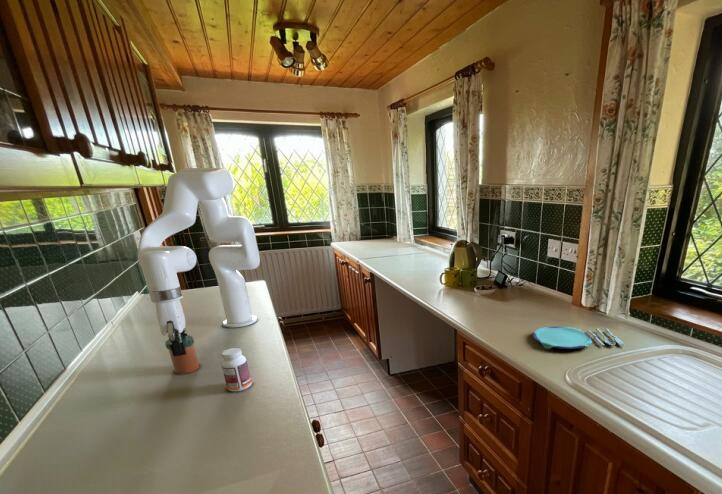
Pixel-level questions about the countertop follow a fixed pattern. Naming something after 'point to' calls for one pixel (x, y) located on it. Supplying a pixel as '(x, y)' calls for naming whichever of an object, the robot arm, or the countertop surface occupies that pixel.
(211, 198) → the robot arm
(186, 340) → the jar lid
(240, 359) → the pill bottle
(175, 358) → the jam jar
